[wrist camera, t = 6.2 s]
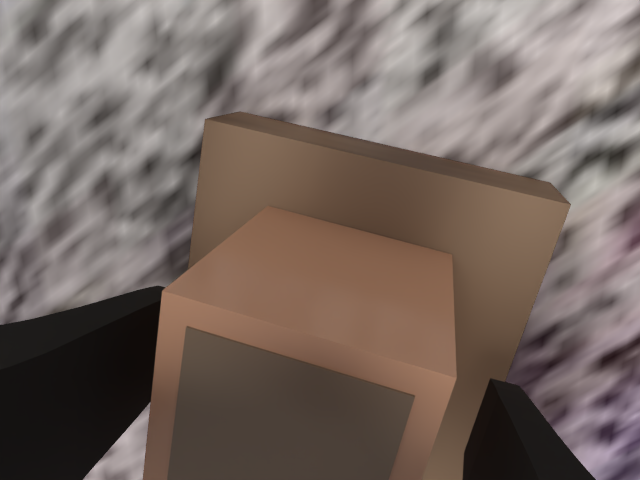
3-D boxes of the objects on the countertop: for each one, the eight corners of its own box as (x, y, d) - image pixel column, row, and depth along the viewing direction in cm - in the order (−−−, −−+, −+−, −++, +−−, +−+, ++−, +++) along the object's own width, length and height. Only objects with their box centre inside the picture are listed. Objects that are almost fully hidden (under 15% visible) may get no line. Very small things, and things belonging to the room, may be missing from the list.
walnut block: (211, 359, 19) (171, 408, 16) (246, 110, 16) (205, 119, 13) (457, 433, 18) (460, 501, 15) (546, 178, 15) (571, 204, 12)
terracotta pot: (240, 361, 15) (138, 511, 10) (267, 205, 14) (160, 291, 9) (403, 411, 15) (380, 599, 10) (452, 254, 13) (456, 379, 8)
